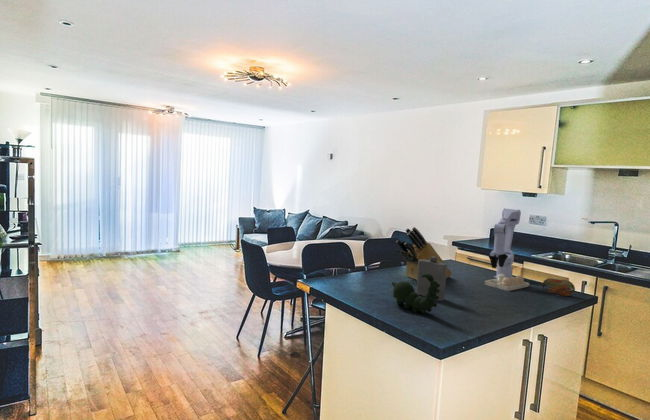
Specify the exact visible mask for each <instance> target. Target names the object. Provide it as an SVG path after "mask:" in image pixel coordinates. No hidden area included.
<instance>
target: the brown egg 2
mask: <svg viewBox="0 0 650 420" xmlns="http://www.w3.org/2000/svg"><path fill="white" fill-rule="evenodd" d="M515 278H516V279H517V283H520V284H523V283H524V282H525V281H524V280H525V279H524V277H523V276H522V275H516V276H515Z"/></svg>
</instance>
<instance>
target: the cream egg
mask: <svg viewBox="0 0 650 420" xmlns="http://www.w3.org/2000/svg"><path fill="white" fill-rule="evenodd" d="M504 278H506V277H505V275H504V274H499V275H498V277H497V278H496V279H497V281H500V282H502V280H503V279H504Z"/></svg>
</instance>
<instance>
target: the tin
mask: <svg viewBox="0 0 650 420" xmlns="http://www.w3.org/2000/svg"><path fill="white" fill-rule="evenodd" d="M542 289H543V291H544V292H545V293H549V294H550V293H551V294H556V295H558V296H561V297H562V296H563V297H570V296H572V295H574V293H575V291H576V287H575V284H574V283H573V282H571V281H570V280H566V279H558V278H550V277H548V278H546V279H545V280H543V282H542Z"/></svg>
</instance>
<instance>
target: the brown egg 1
mask: <svg viewBox="0 0 650 420" xmlns="http://www.w3.org/2000/svg"><path fill="white" fill-rule="evenodd" d="M510 284H511V281H510V279H508V278H504V279H503V280H502V285H503V286H507V287H509V286H510Z"/></svg>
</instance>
